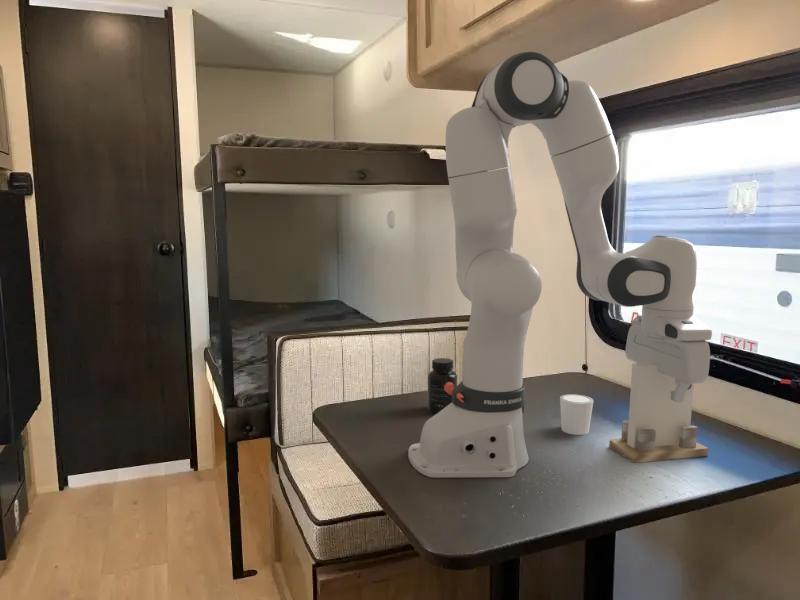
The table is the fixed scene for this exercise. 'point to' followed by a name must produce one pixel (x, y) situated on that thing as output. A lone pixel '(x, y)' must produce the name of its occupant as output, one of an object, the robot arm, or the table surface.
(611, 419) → the table surface
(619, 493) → the table surface
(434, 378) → the supplement bottle
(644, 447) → the peg board base
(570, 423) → the white cup
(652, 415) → the rectangular slab
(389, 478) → the table surface
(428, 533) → the table surface
